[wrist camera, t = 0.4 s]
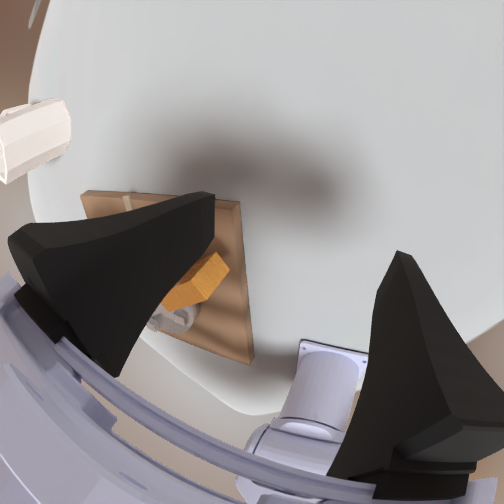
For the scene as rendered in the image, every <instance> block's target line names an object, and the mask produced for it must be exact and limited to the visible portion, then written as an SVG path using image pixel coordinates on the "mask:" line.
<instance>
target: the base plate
mask: <svg viewBox="0 0 504 504" xmlns="http://www.w3.org/2000/svg"><path fill="white" fill-rule="evenodd" d="M80 197H81V200H82V204H83V207H84V210H85V213H86V216H87V219H91V218H97V217H104V216H109V215H113V214H118V213H122V212H126V211H130V210H134V209H138V208H141V207H145V206H148V205H152V204H155V203H159V202H162V201H165V200H169V199H172V198H176V197H179V196H171V195H159V194H145V193H130V192H112V191H89V190H88V191H87V192H85V193H83V194H82V195H80ZM214 252H217V254H218V255H219V256H220V257H221V259H222V260H223V261H224V263H225V264H226V265H227V266H228V268H229V269H230V270H229V272H228V273H227V274H226V276H225V277H224V278H223V280H222V281H221V282H220V284H219V285H218V286H217V287H216V289H215V290H214V291H213V293H212V294H211V295H210V297H209V298H208V299H207V300H206V301H203V302H200V305H201V310H200V314H199V316H198V318H197V319H196V320H195V322H194V323H193V324H192V326H191V327H190V328H189V329H188V330H187V331H186V332H184V333H179V334H177V333H170V332H167V331H164V330H162V329H160V328H159V330H158V331H161V332H163V333H165V334H167V335H170V336H172V337H174V338H177V339H179V340H182V341H184V342H187V343H189V344H191V345H194V346H196V347H199V348H202V349H204V350H207V351H209V352H212V353H215V354H218V355H220V356H223V357H226V358H229V359H231V360H234V361H237V362H240V363H243V364H246V365H249V366H250V365H251V363H252V361H253V359H254V357H255V356H254V347H253V337H252V327H251V317H250V307H249V297H248V287H247V277H246V266H245V256H244V245H243V235H242V224H241V213H240V202H232V201H223V200H215V237H214V239H213V240H212V242H211V243H210V245H209V246H208V248H207V249H206V251H205V252H204V253H203V255H202V256H201V257H200V258H199V259H198V261H199V260H201V259H203V258H205V257H207V256H209V255H211V254H213V253H214ZM146 325H147V324H146Z"/></svg>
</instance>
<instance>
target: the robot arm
mask: <svg viewBox="0 0 504 504" xmlns="http://www.w3.org/2000/svg"><path fill="white" fill-rule="evenodd" d="M214 237H215V195H214V194H210V193H206V192H195V193H190V194H186V195H183V196H179V197H176V198H172V199H169V200H165V201H162V202H159V203H155V204H152V205H148V206H145V207H141V208H138V209H134V210H130V211H126V212H122V213H118V214H113V215H109V216H104V217H97V218H91V219H85V220H78V221H69V222H55V223H29V224H26V225H24V226H22V227H21V228H20V229H18V230H17V231H16V232H14V233H13V234H12V235H10V236H9V237H8V246H9V249H10V252H11V254H12V257H13V259H14V261H15V263H16V265H17V267H18V269H19V271H20V273H21V275H22V277H23V279H24V281H25V283H26V284H25V285H24V286H22V287H21V286H20V285H19V283H18V282H17V280H16V279H15V278H14V277H13V275H12V274H11V273H10V272H7V273H6V274H5V275H4V276H3V277H2V278H1V279H0V504H246V503H244V502H241V501H239V500H236V499H234V498H231V497H228V496H226V495H224V494H221V493H219V492H216V491H214V490H212V489H210V488H208V487H206V486H203V485H201V484H199V483H197V482H195V481H193V480H191V479H189V478H187V477H185V476H183V475H181V474H179V473H177V472H176V471H174V470H172V469H170V468H169V467H167V466H165V465H163V464H161V463H160V462H158V461H156V460H155V459H153V458H152V457H150V456H148V455H147V454H145V453H144V452H142V451H141V450H139V449H138V448H136V447H134V446H133V445H132V444H130V443H129V442H127V441H126V440H124V439H123V438H122V437H120V436H119V435H118V434H116V433H115V432H114V431H112V429H111V428H112V427H113V425H114V424H115V422H116V421H117V417H116V416H114V415H113V414H112V413H111V412H110V411H108V410H107V409H106V408H105V407H104V406H103V405H102V404H101V403H100V402H99V401H97V399H96V398H95V397H94V396H93V395H92V394H91V393H90V392H89V391H88V390H86V389H85V388H84V387H83V386H82V385H81V379H83V380H84V381H85V382H86V383H87V384H88V385H90V386H91V387H92V388H93V389H94V390H95V391H97V392H98V393H99V394H100V395H102V396H103V397H104V398H105V399H107V400H108V401H109V402H110V403H112V404H113V405H114V406H116V407H117V408H118V409H120V410H121V411H123V412H124V413H125V414H127V415H128V416H130V417H131V418H133V419H134V420H135V421H137V422H138V423H140V424H141V425H143V426H144V427H146V428H148V429H149V430H151V431H152V432H154V433H155V434H157V435H159V436H160V437H162V438H164V439H165V440H167V441H169V442H170V443H172V444H174V445H176V446H178V447H180V448H181V449H183V450H185V451H187V452H189V453H191V454H193V455H195V456H197V457H199V458H201V459H203V460H205V461H207V462H209V463H211V464H213V465H216V466H218V467H220V468H222V469H225V470H227V471H229V472H232V473H234V474H237V476H236V482H235V485H236V487H237V488H238V490H239V492H240V493H241V494H242V496H243V497H244V499H245V500H246V502H247V503H248V504H493V502H494V497H495V492H496V486H497V480H498V478H497V477H491V478H485V479H477V480H472V481H468V478H469V474H470V473H473V472H475V470H476V464H477V461H479V460H481V459H483V458H485V457H487V456H489V455H491V454H493V453H495V452H497V451H499V450H501V449H503V448H504V392H503V390H502V389H501V388H500V387H499V386H498V385H497V384H496V383H495V381H494V380H493V379H492V378H491V377H490V376H489V374H488V373H487V372H486V371H485V369H484V368H483V367H482V365H481V364H480V363H479V362H478V360H477V359H476V357H475V356H474V355H473V354H472V352H471V351H470V349H469V348H468V347H467V345H466V344H465V342H464V341H463V339H462V338H461V336H460V335H459V333H458V332H457V330H456V329H455V327H454V326H453V324H452V323H451V321H450V320H449V318H448V316H447V315H446V313H445V311H444V309H443V308H442V306H441V305H440V303H439V301H438V299H437V298H436V296H435V294H434V292H433V291H432V289H431V287H430V285H429V284H428V282H427V280H426V278H425V276H424V275H423V273H422V271H421V269H420V268H419V266H418V264H417V263H416V261H415V260H414V258H413V257H412V256H411V255H409V254H406V253H403V252H401V251H398V250H397V251H396V253H395V256H394V258H393V260H392V262H391V264H390V266H389V268H388V270H387V272H386V274H385V276H384V278H383V280H382V282H381V284H380V286H379V288H378V290H377V294H376V299H375V304H374V309H373V315H372V326H371V336H370V346H369V354H363V353H358V352H353V351H349V350H344V349H339V348H335V347H330V346H326V345H321V344H317V343H313V342H309V341H301V343H300V348H299V356H298V364H297V371H296V376H295V379H294V381H293V384H292V386H291V389H290V391H289V394H288V396H287V399H286V401H285V403H284V406H283V408H282V410H281V413H280V415H279V417H278V418H275V417H274V418H273V420H272V422H271V424H263V425H262V426H260V427H258V428H257V429H256V430H255V431H254V432H253V433H252V435H251V437H250V438H249V440H248V442H247V444H246V446H245V448H244V450H241V449H239V448H237V447H234V446H232V445H229V444H227V443H225V442H223V441H221V440H218V439H216V438H214V437H212V436H210V435H208V434H206V433H204V432H202V431H200V430H198V429H195V428H194V427H192V426H190V425H188V424H186V423H184V422H182V421H181V420H179V419H177V418H175V417H173V416H172V415H170V414H168V413H166V412H165V411H163V410H161V409H160V408H158V407H156V406H155V405H153V404H152V403H150V402H148V401H147V400H145V399H144V398H142V397H141V396H139V395H138V394H136V393H135V392H133V391H132V390H130V389H129V388H127V387H126V386H124V385H123V384H122V383H120V382H119V381H118V380H116V379H115V377H118V376H119V375H120V373H121V370H122V368H123V366H124V364H125V362H126V360H127V358H128V356H129V354H130V352H131V350H132V348H133V346H134V344H135V343H136V341H137V339H138V337H139V335H140V334H141V332H142V330H143V329H144V327H145V326H146V324H147V322H148V321H149V319H150V318H151V316H152V314H153V313H154V312H155V310H156V309H157V307H158V306H159V304H160V303H161V302H162V300H163V299H164V297H165V296H166V295H167V294H168V293H169V291H170V290H171V289H172V288H173V287H174V286H175V285H176V284H177V282H178V281H179V280H180V279H181V278H182V277H183V276H184V275H185V274H186V273H187V272H188V270H189V269H190V268H191V267H192V266H193V265H194V264H195V263H196V262H197V261H198V259H199V258H200V257H201V256H202V255H203V253H204V252H205V251H206V249H207V248H208V246H209V245H210V243H211V242H212V240H213V239H214ZM366 367H367V368H366ZM365 368H366V374H365V378H364V382H363V385H362V389H361V392H360V396H359V399H358V402H357V405H356V408H355V411H354V414H353V417H352V419H351V423H350V425H349V427H348V430H347V432H346V433H345V429H346V425H347V422H348V418H349V415H350V411H351V407H352V403H353V399H354V395H355V391H356V386H357V384H358V382H359V380H360V378H361V376H362V374H363V372H364V370H365Z"/></svg>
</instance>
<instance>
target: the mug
mask: <svg viewBox="0 0 504 504" xmlns="http://www.w3.org/2000/svg"><path fill="white" fill-rule="evenodd" d="M70 141H71V117H70V115H69V113H68V110H67V108H66V106H65V103H64V101H63V100H59V99H54V98H52V99H49V100H46V101H43V102H40V103H37V104H34V105H30V104H25V105H21V106H17V107H13V108H9V109H5V110H3V112H2V113H1V114H0V180H1V181H2V182H4V183H5V184H8V183H10V182H11V181H13V180H15V179H16V178H18V177H19V176H21V175H23V174H25V173H27V172H28V171H30V170H32V169H34V168H36V167H38V166H40V165H42V164H43V163H45V162H47V161H49V160H51V159H53V158H55V157H58V156H60V155H62V154H64V153H65V152H66V149H67V147H68V145H69V143H70Z"/></svg>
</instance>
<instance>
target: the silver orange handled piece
mask: <svg viewBox="0 0 504 504" xmlns="http://www.w3.org/2000/svg"><path fill="white" fill-rule="evenodd" d="M229 270H230V269H229V268H228V266H227V265H226V264H225V263H224V261H223V260H222V259H221V257H220V256H219V255H218V254H217V252H214V253H213V254H211V255H209V256H207V257H205V258H203V259H201V260H199V261H197V262H196V263H195V264H194V265H193V266H192V267H191V268H190V269H189V270H188V272H187V273H186V274H185V275H184V276H183V277H182V278H181V279H180V280H179V281H178V282H177V284H176V285H175V286H174V287H173V288H172V289H171V290H170V291H169V293H168V294H167V295H166V296H165V297H164V299H163V300H162V302H161V303H160V304H159V306H158V307H157V309H156V310H155V312H154V313H153V314H152V316H151V318H150V319H149V321H148V322H147V327H148V328H149V329H151V330H153V331H154V332H157V331H158V330H159V328H160V329H162V330H164V331H167V332H170V333H177V334H179V333H184V332H186V331H187V330H188V329H189V328H190V327H191V326H192V324H193V323H194V322H195V320H196V319H197V318H198V316H199V314H200V310H201V305H200V302H203V301H206V300H207V299H208V298H209V297H210V295H211V294H212V293H213V291H214V290H215V289H216V287H217V286H218V285H219V284H220V282H221V281H222V280H223V278H224V277H225V276H226V274H227V273H228V272H229Z"/></svg>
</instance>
